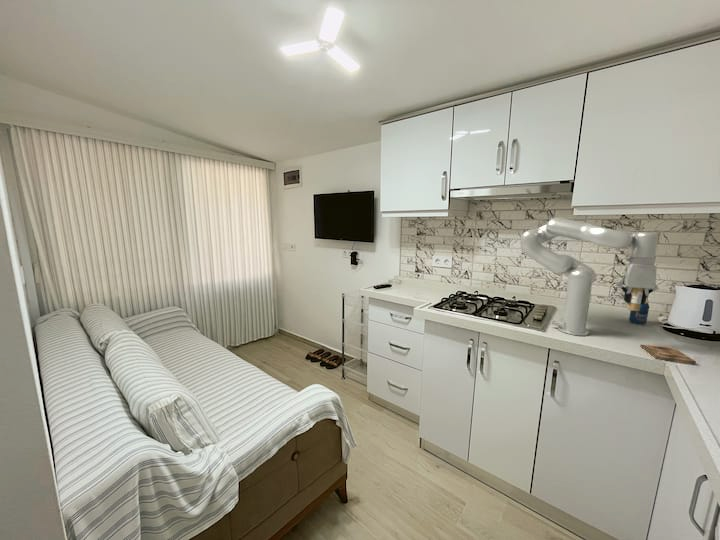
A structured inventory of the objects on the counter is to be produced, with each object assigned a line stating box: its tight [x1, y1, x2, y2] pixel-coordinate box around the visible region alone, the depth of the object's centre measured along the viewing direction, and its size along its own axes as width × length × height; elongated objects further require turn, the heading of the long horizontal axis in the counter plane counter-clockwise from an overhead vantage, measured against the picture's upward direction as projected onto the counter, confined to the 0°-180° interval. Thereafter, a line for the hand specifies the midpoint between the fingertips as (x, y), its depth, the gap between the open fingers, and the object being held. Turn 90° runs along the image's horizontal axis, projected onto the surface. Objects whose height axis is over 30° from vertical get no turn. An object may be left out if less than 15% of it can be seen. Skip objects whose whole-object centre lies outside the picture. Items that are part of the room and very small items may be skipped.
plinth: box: [639, 344, 697, 366], centre depth 123 cm, size 12×12×2 cm
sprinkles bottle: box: [625, 288, 643, 311], centre depth 131 cm, size 5×5×14 cm
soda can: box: [628, 301, 650, 326], centre depth 162 cm, size 7×7×12 cm
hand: (634, 302), depth 131 cm, fingers closed on sprinkles bottle, 4 cm apart
